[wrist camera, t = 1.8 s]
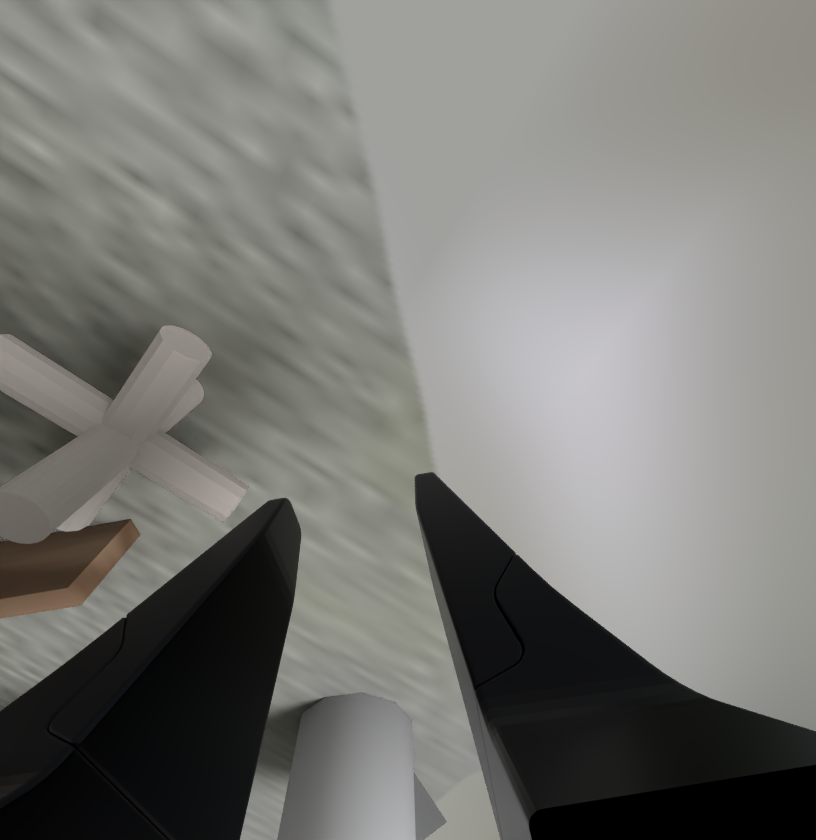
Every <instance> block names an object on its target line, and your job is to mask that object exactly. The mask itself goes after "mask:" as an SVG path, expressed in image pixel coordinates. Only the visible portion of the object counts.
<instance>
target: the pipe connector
mask: <svg viewBox="0 0 816 840" xmlns="http://www.w3.org/2000/svg"><path fill="white" fill-rule="evenodd" d="M211 355H212V353H211V351H210V349H209V347H208V345H206V344H205V343H204V342H203V341H202V340H201V339H200V338H199V337H198V336H196V335H194V334H193V333H191V332H189V331H187V330H186V329H183V328H180V327H177V326H173V325H169V326H163V327H162V328H161V329H160V331H159V332H158V334H157V335H156V337H155V338H154V340H153V341H152V343H151V344H150V346H149V347H148V349H147V350H146V352H145V354H144V355H143V357H142V358H141V360H140V361H139V363H138V364H137V366H136V367H135V369H134V370H133V372H132V373H131V375H130V376H129V378H128V379H127V381H126V382H125V384H124V385H123V387H122V389H121V390H120V392H119V393H118V395H117V396H116V398H115V399H114V400H113V399H111V398H110V397H108V396H107V395H105V394H103V393H102V392H100V391H99V390H97V389H96V388H94V387H92V386H91V385H89V384H88V383H86V382H85V381H83V380H81V379H80V378H78V377H77V376H75V375H74V374H72V373H71V372H69V371H67V370H66V369H64V368H63V367H61V366H60V365H58V364H56V363H55V362H53V361H52V360H50V359H49V358H47V357H45V356H44V355H42V354H41V353H39V352H38V351H36V350H34V349H33V348H31V347H30V346H28V345H27V344H25V343H24V342H22V341H20V340H19V339H17V338H16V337H14V336H13V335H11V334H0V391H2V392H3V393H5V394H7V395H8V396H10V397H12V398H13V399H15V400H17V401H18V402H20V403H22V404H24V405H25V406H27V407H29V408H30V409H32V410H34V411H35V412H37V413H39V414H40V415H42V416H44V417H45V418H47V419H49V420H51V421H52V422H54V423H56V424H57V425H59V426H61V427H62V428H64V429H66V430H67V431H69V432H71V433H73V434H74V435H76V436H78V437H77V438H75V439H74V440H72V441H70V442H69V443H67V444H66V445H64V446H63V447H61V448H60V449H58V450H56V451H55V452H53V453H52V454H50V455H49V456H47V457H45V458H44V459H42V460H41V461H39V462H38V463H36V464H35V465H33V466H31V467H30V468H28V469H27V470H25V471H24V472H22V473H21V474H19V475H17V476H16V477H14V478H13V479H11V480H10V481H8V482H7V483H5V484H3V485H2V486H0V537H2V538H4V539H7V540H9V541H12V542H16V543H21V544H32V543H38V542H40V541H42V540H44V539H45V538H46V537H47V536H48V535H50V534H51V533H52V532H53V531H54V530H55V529H57V530H61V531H64V532H68V531H79V530H81V529H83V528H85V527H86V526H88V525H90V523H91V522H92V521H93V519H94V518H95V516H96V515H97V514H98V512H99V511H100V510H101V508H102V507H103V505H104V504H105V503H106V501H107V500H108V499H109V497H110V496H111V494H112V493H113V492H114V490H115V489H116V488H117V486H118V485H119V484H120V482H121V481H122V479H123V478H124V477H125V475H126V474H127V473H128V471H129V470H130V468H132V469H133V470H135V471H137V472H138V473H140V474H142V475H143V476H145V477H147V478H149V479H150V480H152V481H154V482H155V483H157V484H159V485H160V486H162V487H164V488H165V489H167V490H169V491H170V492H172V493H174V494H176V495H177V496H179V497H181V498H182V499H184V500H186V501H187V502H189V503H191V504H192V505H194V506H196V507H198V508H199V509H201V510H203V511H204V512H206V513H208V514H209V515H211V516H213V517H214V518H216V519H218V520H219V521H221V522H224V521H225V520H226V519H227V518H228V517H229V515H230V514H231V513H232V512H233V510H234V509H235V508H236V507H237V505H238V504H239V502H240V501H241V500H242V498H243V497H244V495H245V494H246V492H247V490H248V488H249V486H248V485H246V484H244V483H243V482H241V481H240V480H238V479H237V478H235V477H233V476H232V475H230V474H229V473H227V472H226V471H224V470H223V469H221V468H219V467H218V466H216V465H215V464H213V463H212V462H210V461H208V460H207V459H205V458H204V457H202V456H201V455H199V454H197V453H196V452H194V451H193V450H191V449H190V448H188V447H186V446H185V445H183V444H182V443H180V442H179V441H177V440H176V439H174V438H172V437H171V436H169V435H168V434H166V432H168V431H169V430H170V429H171V428H172V427H173V426H174V425H176V424H177V423H178V422H179V421H180V420H181V419H182V418H184V417H185V416H186V415H187V414H188V413H189V412H190V411H192V410H193V409H194V408H195V407H196V406H197V405H198V404H200V403H201V402H202V400H203V398H204V390H203V387H202V385H201V384H200V382H199V381H198V380H197V379H196V378H197V377H198V375H199V374H200V372H201V371H202V370H203V368H204V367H205V366H206V364H207V363H208V361H209V360H210V358H211Z"/></svg>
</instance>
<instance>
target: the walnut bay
mask: <svg viewBox="0 0 816 840" xmlns="http://www.w3.org/2000/svg"><path fill="white" fill-rule="evenodd" d="M139 536H140V534H139V532H138V530H137V529H136V527H135V526H134V524H133V522H132V521H131V520H125V521H119V522H114V523H108V524H102V525H97V526H91V527H85V528H83V529H81V530H79V531H68V532H64V531H62V532H57V533H51V534H50V535H48V536H47V537H46V538H45V539H44V540H42V541H40V542H38V543H32V544H21V543H16V542H12V541H5V542H0V618H6V617H13V616H19V615H25V614H31V613H37V612H43V611H49V610H55V609H61V608H67V607H73V606H79V605H82V603H83V602H84V601H85V600H86V599H87V598H88V596H89V595H90V594H91V593H92V592H93V590H94V589H95V588H96V587H97V586H98V585H99V583H100V582H101V581H102V580H103V579H104V577H105V576H106V575H107V574H108V573H109V571H110V570H111V569H112V568H113V567H114V566H115V564H116V563H117V562H118V561H119V560H120V558H121V557H122V556H123V555H124V554H125V553H126V551H127V550H128V549H129V548H130V547H131V545H132V544H133V543H134V542H135V541H136V540H137V538H138V537H139Z"/></svg>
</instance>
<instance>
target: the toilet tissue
mask: <svg viewBox="0 0 816 840" xmlns="http://www.w3.org/2000/svg"><path fill="white" fill-rule="evenodd" d="M445 823H446V820H445V818H444V817H443V815H442V814H441V812H440V811H439V809H438V808H437V806H436V805H435V803H434V802H433V800H432V799H431V797H430V796H429V794H428V793H427V791H426V790H425V788H424V787H423V785H422V784H421V782H420V781H419V779H418V778H417V776H416V775H415V773H414V772H413V743H412V720H411V719H410V718H409V717H408V715H407V714H406V713H405V712H404V711H403V710H402V709H401V708H400V706H399V705H398V704H397V703H396V702H394V701H391V700H387V699H383V698H380V697H376V696H373V695H369V694H365V693H355V694H347V695H339V696H331V697H325V698H323V699H322V700H321V701H319V702H318V703H316V704H315V705H313V706H312V707H310V708H309V709H308V710H306V711H305V712H303V713H302V715H301V720H300V725H299V731H298V736H297V741H296V746H295V751H294V756H293V761H292V767H291V772H290V777H289V782H288V787H287V792H286V797H285V803H284V808H283V813H282V818H281V823H280V828H279V833H278V839H277V840H424V839H425V838H427V837H428V836H429V835H430V834H432V833H433V832H434V831H436V830H437V829H438V828H440V827H441V826H442V825H443V824H445Z"/></svg>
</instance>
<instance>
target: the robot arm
mask: <svg viewBox="0 0 816 840" xmlns="http://www.w3.org/2000/svg"><path fill="white" fill-rule="evenodd" d="M415 504H416V511H417V516H418V520H419V525H420V529H421V534H422V538H423V543H424V547H425V552H426V556H427V561H428V565H429V570H430V574H431V579H432V583H433V587H434V591H435V595H436V599H437V602H438V606H439V610H440V614H441V617H442V621H443V625H444V629H445V633H446V636H447V640H448V644H449V648H450V651H451V655H452V659H453V663H454V666H455V670H456V674H457V678H458V681H459V685H460V689H461V693H462V696H463V700H464V704H465V708H466V711H467V715H468V719H469V723H470V726H471V730H472V734H473V738H474V741H475V745H476V749H477V753H478V756H479V760H480V764H481V768H482V771H483V775H484V779H485V783H486V786H487V790H488V793H489V798H490V801H491V805H492V809H493V813H494V816H495V820H496V824H497V828H498V832H499V835H500V838H501V840H816V731H813V730H809V729H806V728H803V727H800V726H797V725H793V724H790V723H787V722H784V721H781V720H778V719H774V718H771V717H768V716H765V715H762V714H758V713H755V712H752V711H748V710H746V709H742V708H739V707H736V706H732V705H730V704H726V703H723V702H720V701H717V700H714V699H711V698H709V697H707V696H704V695H702V694H700V693H697V692H695V691H694V690H692V689H690V688H688V687H686V686H684V685H683V684H681V683H679V682H677V681H676V680H674V679H672V678H671V677H669V676H668V675H666V674H665V673H663V672H662V671H660V670H659V669H658V668H656V667H655V666H654V665H652V664H651V663H649V662H648V661H647V660H645V659H644V658H643V657H642V656H640V655H639V654H638V653H636V652H635V651H633V650H632V649H631V648H630V647H629V646H627V645H626V644H624V643H623V642H622V641H621V640H619V639H618V638H617V637H615V636H614V635H613V634H612V633H610V632H609V631H607V630H606V629H605V628H604V627H602V626H601V625H600V624H598V623H597V622H596V621H594V620H593V619H592V618H591V617H589V616H588V615H587V614H585V613H584V612H583V611H581V610H580V609H579V608H578V607H576V606H575V605H574V604H573V603H571V602H570V601H569V600H568V599H566V598H565V597H564V596H562V595H561V594H560V593H559V592H557V591H556V590H555V589H554V588H552V587H551V586H550V585H549V584H548V583H547V582H546V581H545V580H544V579H543V578H542V577H540V576H539V575H538V574H537V573H536V572H535V571H534V570H533V569H532V568H531V567H529V565H528V564H527V563H526V562H525V561H523V559H521V558H520V556H518V555H516V554H515V552H514V551H513V550H512V549H511V548H510V547H509V546H508V545H507V544H506V543H505V542H504V541H503V540H502V539H501V538H500V537H499V536H498V535H497V534H496V533H495V532H494V531H493V530H492V529H491V528H490V527H489V526H488V525H487V524H485V523H484V521H482V520H481V519H480V518H479V517H478V516H477V515H476V514H475V513H474V512H473V511H472V510H471V509H470V508H469V507H468V506H467V505H466V504H465V503H464V502H463V501H462V500H461V499H460V498H459V497H458V496H457V495H456V494H455V493H454V492H453V491H452V490H451V489H450V488H449V487H447V485H446V484H445V483H444V482H443V481H442V480H441V479H440V478H439V477H438V476H437V475H436V474H434V473H433V472H430V473H424V474H418V475H416V476H415ZM300 543H301V529H300V525H299V523H298V520H297V517H296V515H295V512H294V510H293V507H292V505H291V502H290V501H289V499H287V498H280V499H274V500H270V501H268V502H266V503H265V504H264V505H263V506H261V507H260V508H259V509H258V510H256V511H255V512H254V513H253V514H251V515H250V516H249V517H248V518H246V519H245V520H244V521H243V522H241V523H240V524H239V525H238V526H236V527H235V528H234V529H233V530H231V531H230V532H229V533H228V534H227V535H225V536H224V537H223V538H222V539H220V540H219V541H218V542H217V543H215V544H214V545H213V546H212V547H210V548H209V549H208V550H207V551H205V552H204V553H203V554H202V555H200V556H199V557H198V558H197V559H195V560H194V561H193V562H192V563H190V564H189V565H188V566H187V567H185V568H184V569H183V570H182V571H180V572H179V573H178V574H177V575H176V576H174V577H173V578H172V579H171V580H169V581H168V582H167V583H166V584H164V585H163V586H162V587H161V588H159V589H158V590H157V591H156V592H154V593H153V594H152V595H151V596H149V597H148V598H147V599H146V600H144V601H143V602H142V603H141V604H139V605H138V606H137V607H136V608H134V609H133V610H132V611H131V612H130V613H128V614H127V617H126V618H122V619H121V620H119V621H118V622H117V623H116V624H114V625H113V626H112V627H111V628H109V629H108V630H107V631H106V632H105V633H103V634H102V635H101V636H99V637H98V638H97V639H96V640H94V641H93V642H92V643H91V644H89V645H88V646H87V647H85V648H84V649H83V650H82V651H80V652H79V653H78V654H77V655H75V656H74V657H73V658H71V659H70V660H69V661H67V662H66V663H65V664H63V665H62V666H61V667H59V668H58V669H57V670H55V671H54V672H53V673H51V674H50V675H49V676H47V677H46V678H45V679H43V680H42V681H41V682H39V683H38V684H37V685H35V686H34V687H33V688H31V689H30V690H29V691H27V692H26V693H24V694H23V695H22V696H20V697H19V698H18V699H16V700H15V701H14V702H12V703H11V704H9V705H8V706H7V707H5V708H4V709H3V710H1V711H0V840H240V836H241V832H242V827H243V823H244V819H245V814H246V810H247V805H248V801H249V797H250V792H251V788H252V783H253V779H254V775H255V770H256V766H257V761H258V757H259V753H260V748H261V744H262V740H263V735H264V731H265V726H266V722H267V718H268V713H269V709H270V704H271V700H272V696H273V691H274V687H275V682H276V678H277V674H278V669H279V665H280V660H281V656H282V652H283V647H284V643H285V638H286V634H287V630H288V625H289V621H290V616H291V612H292V607H293V602H294V596H295V588H296V579H297V570H298V561H299V552H300Z"/></svg>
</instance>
